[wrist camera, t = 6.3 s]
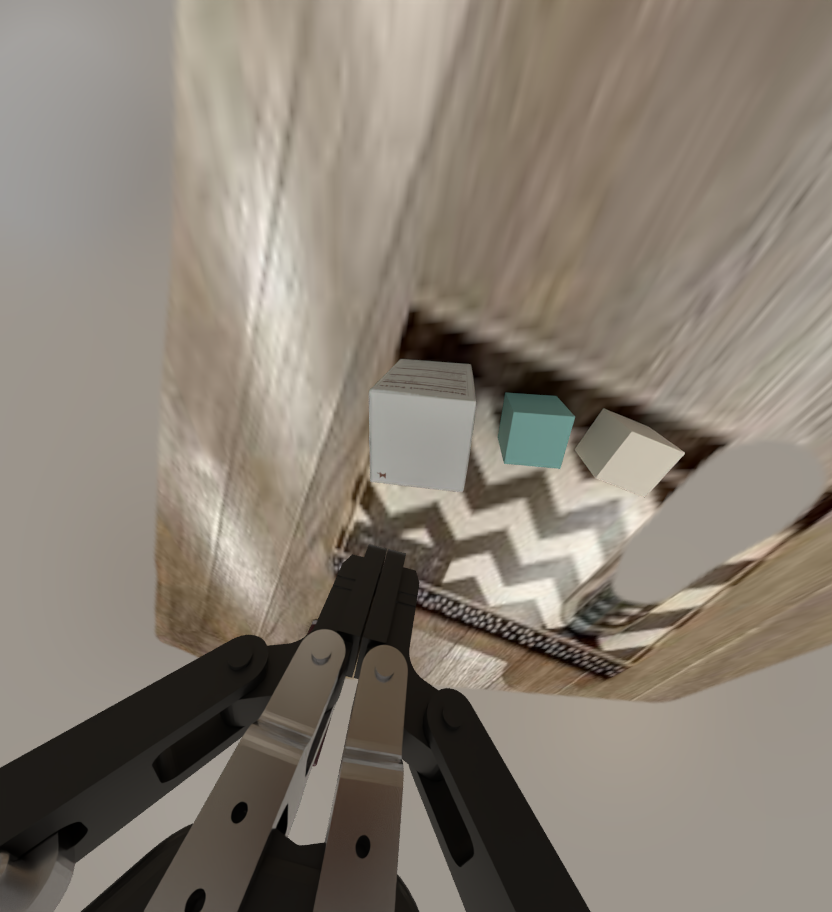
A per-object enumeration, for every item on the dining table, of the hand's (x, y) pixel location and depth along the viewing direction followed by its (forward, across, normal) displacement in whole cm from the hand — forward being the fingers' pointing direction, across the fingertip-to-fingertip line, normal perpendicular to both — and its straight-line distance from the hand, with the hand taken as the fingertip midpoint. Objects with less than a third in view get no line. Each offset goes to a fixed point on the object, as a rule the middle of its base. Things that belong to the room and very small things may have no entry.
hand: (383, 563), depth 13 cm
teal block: (+23, -10, 0) cm, 25 cm away
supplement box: (+24, 0, 0) cm, 24 cm away
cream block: (+23, -19, 0) cm, 30 cm away
